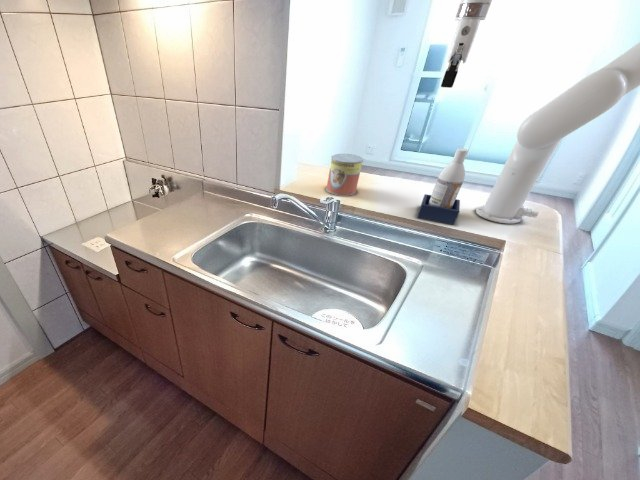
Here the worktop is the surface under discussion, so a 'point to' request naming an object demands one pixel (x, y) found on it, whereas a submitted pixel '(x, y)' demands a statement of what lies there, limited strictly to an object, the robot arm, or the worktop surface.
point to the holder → (438, 211)
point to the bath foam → (449, 182)
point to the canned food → (344, 174)
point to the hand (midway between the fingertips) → (446, 85)
